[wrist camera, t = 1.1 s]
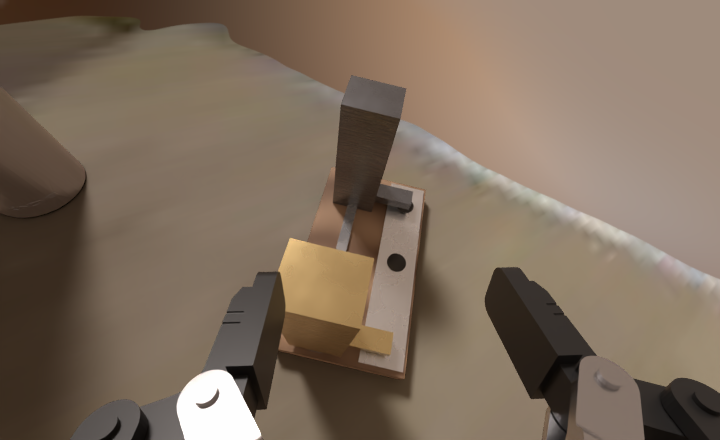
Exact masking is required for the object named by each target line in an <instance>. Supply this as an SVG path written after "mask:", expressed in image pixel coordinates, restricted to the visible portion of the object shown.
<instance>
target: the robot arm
mask: <svg viewBox="0 0 720 440" xmlns="http://www.w3.org/2000/svg"><path fill="white" fill-rule="evenodd" d="M84 181H85V170H84V167H83V166H82V165H81V163H80V162H79V161H78V160H77V159H76V158H75V157H74V156H73V155H71V154H70V153H69V152H68V151H67V150H66V149H65V148H64V147H63V146H62V145H61V144H60V143H59V142H58V141H57V140H56V139H55V138H54V137H53V136H52V135H51V134H50V133H49V132H48V131H47V130H46V129H45V128H44V127H42V126H41V125H40V124H39V123H38V122H37V121H36V120H35V119H34V118H33V117H32V116H31V115H30V114H29V113H28V112H27V111H26V110H25V109H24V108H23V107H22V106H21V105H20V104H18V103H17V102H16V101H15V100H14V99H13V98H12V97H11V96H10V95H9V94H8V93H7V92H6V91H5V90H4V89H3V88H2V87H1V86H0V213H2V214H4V215H6V216H11V217H16V218H27V217H35V216H39V215H43V214H46V213H49V212H51V211H54V210H56V209H58V208H60V207H61V206H63V205H65V204H66V203H68V202H69V201H70V200H72V199H73V198H74V197H75V196H76V195H77V194H78V192H79V191H80V190H81V188H82V186H83V184H84ZM485 307H486V311H487V313H488V315H489V317H490V319H491V321H492V323H493V325H494V327H495V329H496V331H497V333H498V335H499V337H500V339H501V341H502V343H503V345H504V347H505V349H506V351H507V353H508V355H509V357H510V359H511V361H512V363H513V365H514V367H515V369H516V371H517V373H518V375H519V377H520V378H521V380H522V382H523V384H524V386H525V388H526V390H527V392H528V394H529V396H530V398H531V399H542V398H545V400H546V401H547V403H548V405H549V406H548V408H547V410H546V414H545V421H544V427H543V434H542V440H720V393H718V392H717V391H715V390H714V389H712V388H710V387H709V386H707V385H705V384H703V383H700V382H698V381H695V380H692V379H688V378H677V379H675V380H673V381H672V382H671V383H670V384H669V385H668V386H667V387H664V386H660V385H657V384H653V383H649V382H645V381H641V380H637V379H633V378H632V377H631V376H630V375H629V374H628V373H627V372H626V371H625V370H624V369H623V368H621V367H620V366H619V365H617V364H616V363H614V362H612V361H610V360H608V359H605V358H603V357H599V356H597V355H596V354H595V353H594V352H593V350H592V349H591V348H590V346H589V345H588V344H587V342H586V341H585V340H584V339H583V337H582V336H581V335H580V333H579V332H578V331H577V329H576V328H575V327H574V326H573V324H572V323H571V322H570V320H569V319H568V318H567V316H564V313H563V311H562V310H561V309H560V307H559V306H557V305H556V302H555V301H554V300H553V298H552V297H551V296H550V294H549V293H548V292H547V291H546V290H545V289H544V288H542V287H541V286H540V285H538V284H537V283H536V282H534V281H529V280H528V278H527V277H526V276H525V274H524V273H523V272H522V270H521V269H520V268H518V267H506V268H496V269H495V270H494V272H493V275H492V278H491V281H490V284H489V287H488V290H487V292H486V295H485ZM285 310H286V304H285V296H284V290H283V284H282V279H281V274H280V272H258V273H257V275H256V278H255V281H254V284H253V287H242V288H241V289H240V291H239V292H238V293H237V294H236V295H235V296H234V297H233V298H232V300H231V303H230V305H229V308H228V310H227V314H226V315H225V317H224V320H223V324H222V325H221V327H220V330H219V332H218V335H217V337H216V340H215V342H214V345H213V347H212V350H211V352H210V354H209V357H208V359H207V362H206V364H205V367H204V369H203V371H202V372H201V374H200V375H198V376H197V377H195V378H194V379H193V380H191V381H190V382H189V383H188V384H187V385H186V386H185V388H184V389H183V390H182V391H181V392H179V393H177V394H175V395H173V396H170V397H168V398H165V399H162V400H159V401H156V402H153V403H150V404H148V405H145V406H142V407H139V406H138V405H137V404H136V403H135V402H134V401H132V400H127V399H124V400H117V401H113V402H110V403H108V404H106V405H104V406H102V407H100V408H99V409H97V410H96V411H94V412H93V413H92V414H91V415H89V416H88V417H87V418H86V419H85V420H84V421H83V422H82V423H81V424H80V426H79V427H78V428H77V430H76V431H75V433H74V434H73V436H72V437H71V439H70V440H263V438H262V436H261V434H260V432H259V430H258V428H257V426H256V424H255V422H254V417H255V413H256V410H261V409H267V404H268V399H269V394H270V389H271V384H272V379H273V374H274V369H275V364H276V359H277V354H278V349H279V344H280V339H281V334H282V329H283V324H284V319H285Z"/></svg>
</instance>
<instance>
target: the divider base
mask: <svg viewBox="0 0 720 440" xmlns="http://www.w3.org/2000/svg"><path fill="white" fill-rule="evenodd" d="M405 92H406V89H405V88H402V87H397V86H394V85H389V84H385V83H381V82H377V81H373V80H369V79H365V78H361V77H357V76H353V75H352V76H351V78H350V81H349V83H348V86H347V89H346V92H345V95H344V97H343V100H342V103H341V111H340V122H339V134H338V146H337V157H336V168H334V167H332V168H331V171H330V174H329V177H328V180H327V183H326V186H325V189H324V192H323V195H322V198H321V201H320V204H319V208H318V211H317V214H316V217H315V220H314V223H313V226H312V229H311V232H310V235H309V238H308V241H307V242H308V243H313V244H317V245H321V246H325V247H329V248H333V249H338V250H342V251H346V252H350V253H354V254H358V255H362V256H367V257H371V258H374V262H373V268H372V273H371V278H370V283H369V288H368V294H367V299H366V304H365V309H364V314H363V319H362V325H364V326H368V327H372V328H376V329H380V330H385V331H389V332H393V341H392V348H391V355H389V356H385V355H380V354H376V353H372V352H368V351H364V350H359V349H355V348H351V347H347V349H346V350H345V351H344V353H343V354H342V356H341V357H338V356H334V355H330V354H325V353H321V352H317V351H313V350H309V349H304V348H300V347H296V346H292V345H289V344H288V343H287V341H286V339H285V338H284V336H283V334H281V339H280V344H279V349H278V351H281V352H285V353H289V354H293V355H298V356H302V357H306V358H310V359H314V360H319V361H323V362H327V363H331V364H335V365H340V366H344V367H348V368H352V369H357V370H361V371H365V372H369V373H373V374H378V375H382V376H386V377H390V378H395V379H399V380H401V379H405V371H406V362H407V353H408V344H409V335H410V326H411V317H412V308H413V299H414V290H415V281H416V272H417V263H418V254H419V245H420V236H421V227H422V218H423V209H424V200H425V191H426V190H424V189H420V188H416V187H412V186H408V185H404V184H400V183H395V182H391V181H387V180H383V179H382V176H383V173H384V170H385V167H386V164H387V160H388V157H389V154H390V151H391V147H392V144H393V141H394V138H395V134H396V131H397V128H398V125H399V121H400V118H401V113H402V107H403V102H404V97H405Z"/></svg>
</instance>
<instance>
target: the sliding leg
mask: <svg viewBox="0 0 720 440" xmlns="http://www.w3.org/2000/svg"><path fill="white" fill-rule="evenodd" d="M373 262H374V258H371V257H367V256H362V255H358V254H354V253H350V252H346V251H342V250H338V249H333V248H329V247H325V246H321V245H317V244H313V243H308V242H304V241H300V240H296V239H292V238H290V240H289V243H288V245H287V248H286V251H285V254H284V256H283V259H282V262H281V265H280V267H279V270H278V272H280V274H281V279H282V284H283V290H284V296H285V304H286V310H285V319H284V324H283V329H282V334H283V336H284V338H285V339H286V341H287V343H288V344H289V345H292V346H296V347H300V348H304V349H309V350H313V351H317V352H321V353H325V354H330V355H334V356H338V357H341V356H342V354H343V353H344V351H345V350H346V349H347V347H351V348H355V349H359V350H364V351H368V352H372V353H376V354H380V355H385V356H389V355H391V348H392V341H393V332H389V331H385V330H380V329H376V328H372V327H368V326H364V325H362V319H363V314H364V309H365V304H366V299H367V294H368V288H369V283H370V278H371V273H372V268H373Z"/></svg>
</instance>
